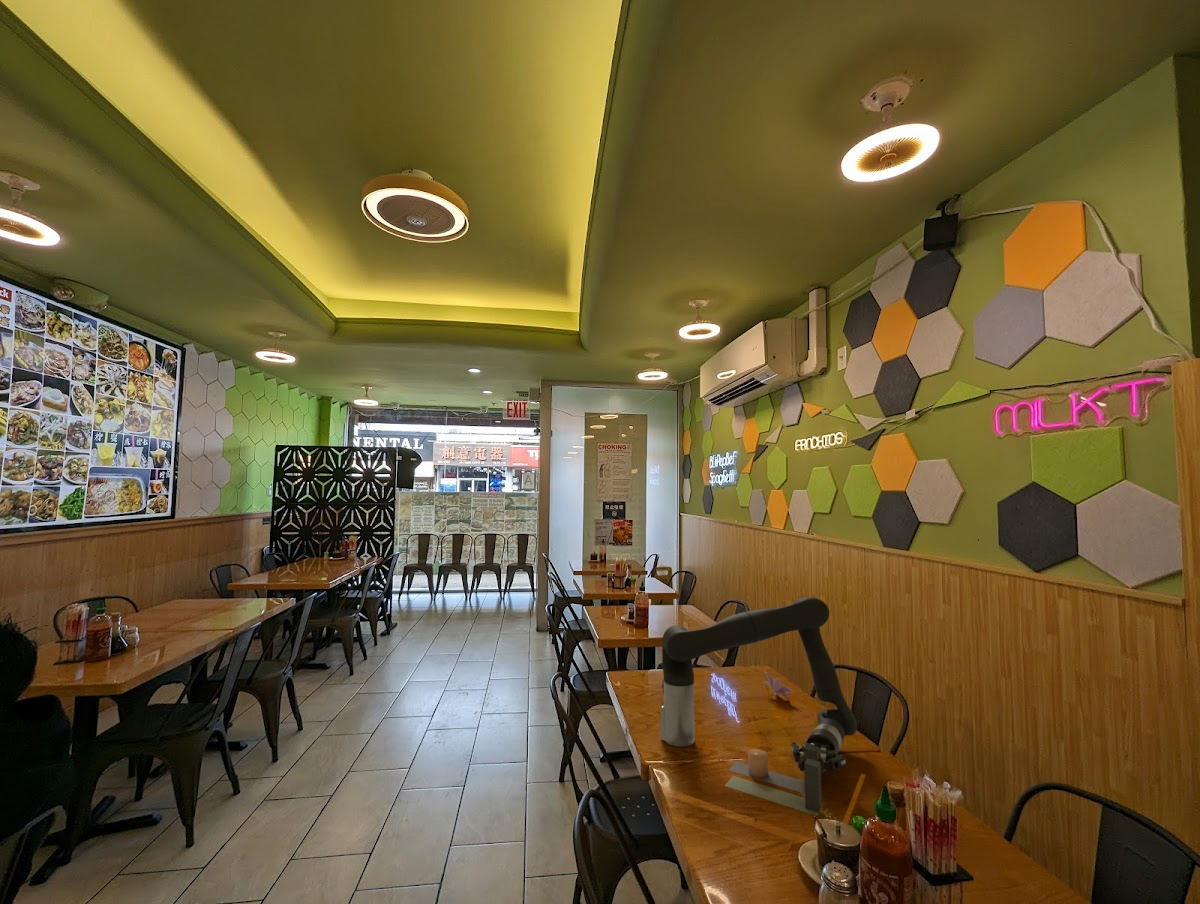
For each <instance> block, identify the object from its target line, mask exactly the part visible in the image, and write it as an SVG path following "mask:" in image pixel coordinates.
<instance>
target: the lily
mask: <svg viewBox="0 0 1200 904" xmlns="http://www.w3.org/2000/svg"><path fill="white" fill-rule="evenodd" d="M763 672H764V674H765V675H766V677H767V679H768V680H763V681H762V683H764V684H766V685H767V686H769V687H771V689H772V693H771V695H770V698H769V703H771V699H772V696H773V695H774V694H775V696H780V695H782V696H783V697H784V698H785V699H786V700H787V701H788V700H789V701H788V702H791V700H790V698H789V695H787V694H794V693H795V692H794V691H793V689H791V688H789V687H788V686H786V685H784V684H782V682H781V680H780V678H779V677H777V678H774V677H773V676H772V675H771V673H769V672H767V671H765V670H763Z"/></svg>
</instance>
